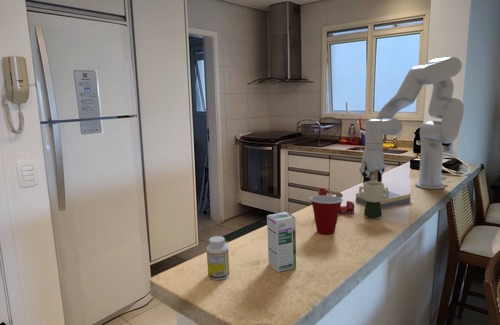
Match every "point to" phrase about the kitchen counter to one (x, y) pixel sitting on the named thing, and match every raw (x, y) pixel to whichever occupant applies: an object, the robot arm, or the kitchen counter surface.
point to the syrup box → (281, 241)
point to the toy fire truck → (343, 209)
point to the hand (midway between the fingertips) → (372, 183)
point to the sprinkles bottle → (374, 175)
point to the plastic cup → (326, 213)
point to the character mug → (373, 198)
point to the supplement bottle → (217, 258)
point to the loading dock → (391, 201)
